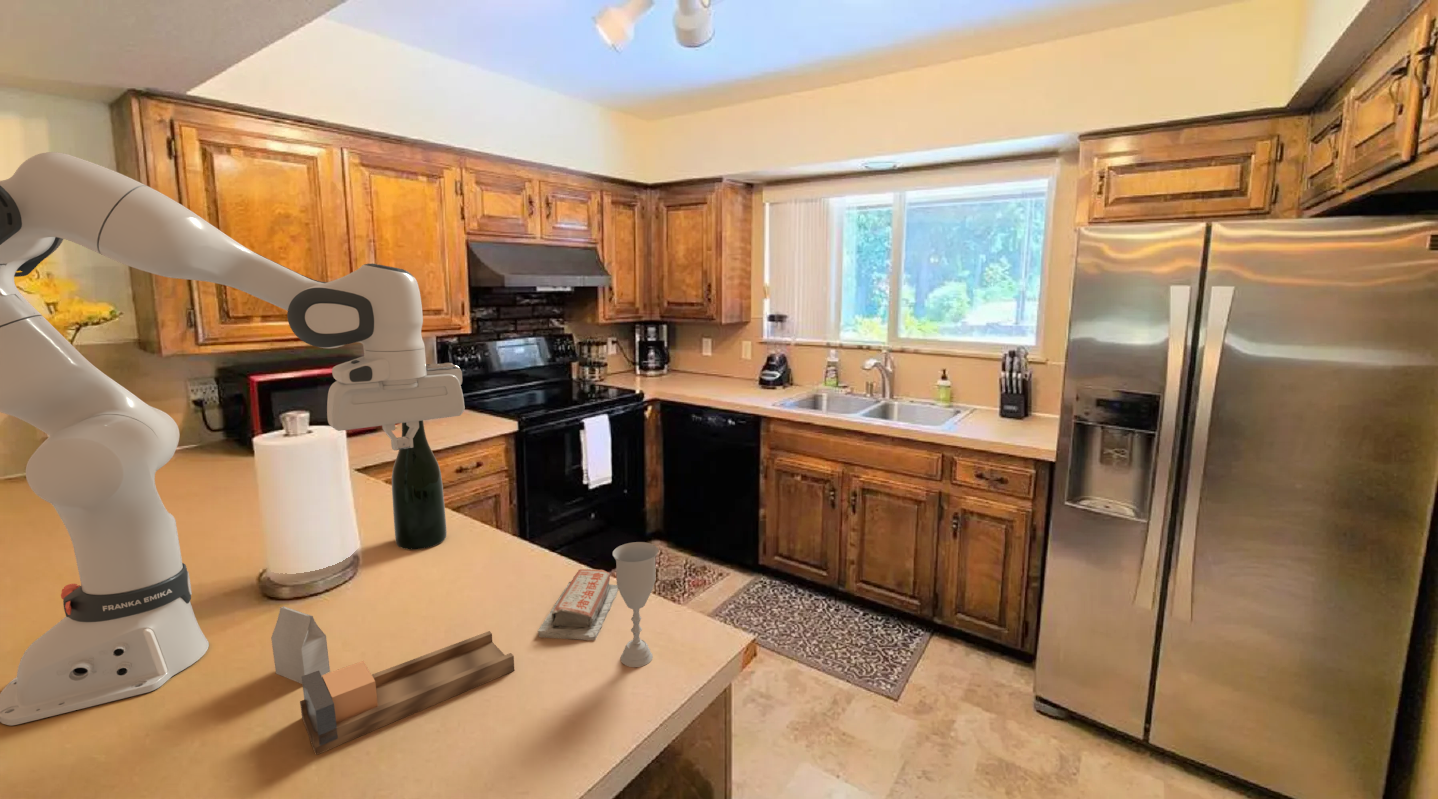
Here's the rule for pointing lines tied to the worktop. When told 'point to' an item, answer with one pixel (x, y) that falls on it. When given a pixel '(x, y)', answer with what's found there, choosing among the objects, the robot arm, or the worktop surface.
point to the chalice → (635, 593)
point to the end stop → (319, 705)
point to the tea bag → (298, 645)
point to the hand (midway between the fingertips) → (402, 448)
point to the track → (420, 686)
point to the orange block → (351, 690)
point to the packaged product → (581, 607)
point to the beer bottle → (418, 495)
